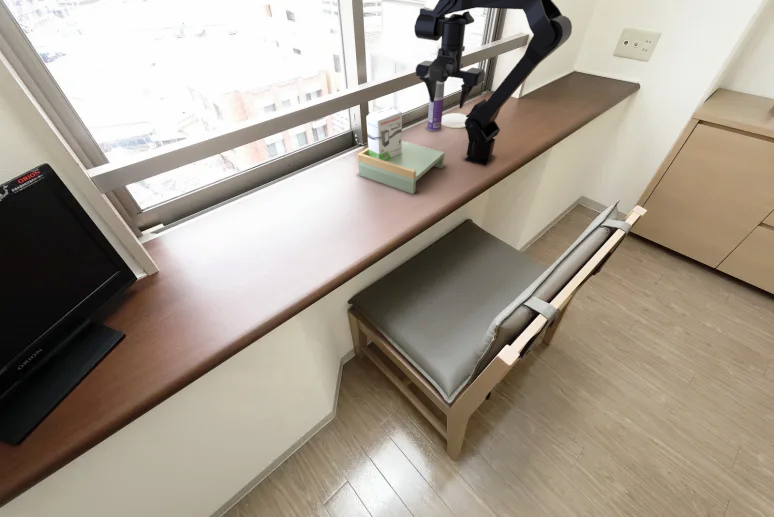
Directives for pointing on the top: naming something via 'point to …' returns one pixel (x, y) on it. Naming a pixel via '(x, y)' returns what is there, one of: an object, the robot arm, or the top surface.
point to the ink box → (384, 133)
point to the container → (436, 108)
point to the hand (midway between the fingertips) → (446, 104)
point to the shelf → (400, 166)
